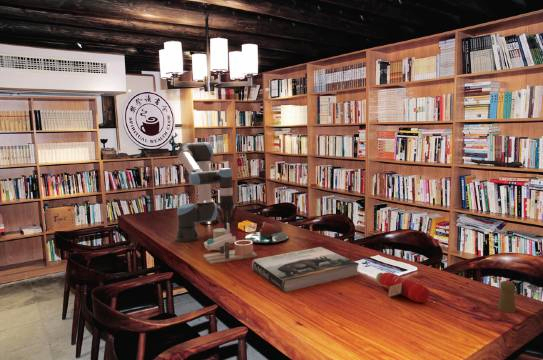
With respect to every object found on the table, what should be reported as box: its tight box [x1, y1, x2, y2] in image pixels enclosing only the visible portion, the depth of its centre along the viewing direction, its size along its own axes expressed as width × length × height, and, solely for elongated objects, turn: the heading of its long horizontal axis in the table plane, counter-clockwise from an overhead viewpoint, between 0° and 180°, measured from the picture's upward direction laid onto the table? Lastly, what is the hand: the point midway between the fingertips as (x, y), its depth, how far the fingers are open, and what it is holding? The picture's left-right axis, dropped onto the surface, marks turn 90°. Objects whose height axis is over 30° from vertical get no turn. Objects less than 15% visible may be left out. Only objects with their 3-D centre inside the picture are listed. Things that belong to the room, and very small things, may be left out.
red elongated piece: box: [375, 271, 430, 304], centre depth 170 cm, size 12×8×25 cm
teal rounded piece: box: [244, 221, 289, 244], centre depth 262 cm, size 28×28×11 cm
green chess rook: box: [497, 280, 517, 314], centre depth 154 cm, size 6×6×11 cm
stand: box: [202, 242, 258, 265], centre depth 228 cm, size 15×28×10 cm, turn 114°
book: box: [251, 246, 360, 293], centre depth 199 cm, size 43×33×6 cm
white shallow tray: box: [203, 233, 237, 252], centre depth 227 cm, size 15×16×3 cm
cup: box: [233, 239, 254, 255], centre depth 231 cm, size 10×10×6 cm
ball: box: [206, 238, 214, 245], centre depth 222 cm, size 4×4×4 cm
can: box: [212, 227, 226, 251], centre depth 244 cm, size 9×9×12 cm
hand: (227, 234), depth 235 cm, fingers closed
